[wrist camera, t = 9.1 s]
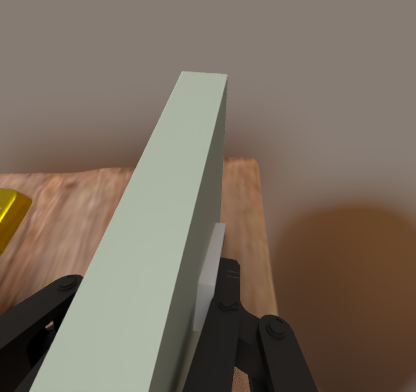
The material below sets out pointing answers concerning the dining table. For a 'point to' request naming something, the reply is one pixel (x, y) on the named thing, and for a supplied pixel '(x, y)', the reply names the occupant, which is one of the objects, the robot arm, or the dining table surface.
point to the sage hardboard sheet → (149, 259)
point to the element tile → (11, 214)
